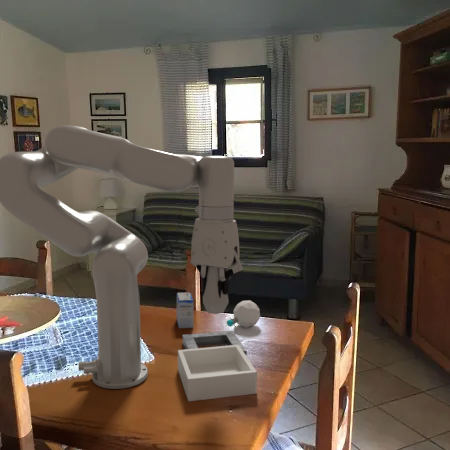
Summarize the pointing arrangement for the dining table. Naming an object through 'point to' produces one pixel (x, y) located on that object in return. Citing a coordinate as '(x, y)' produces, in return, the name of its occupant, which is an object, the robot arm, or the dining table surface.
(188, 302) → the medicine box
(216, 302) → the salt shaker
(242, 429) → the dining table surface
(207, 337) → the collar block
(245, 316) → the perfume bottle
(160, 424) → the dining table surface
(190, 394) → the bin
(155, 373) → the dining table surface
